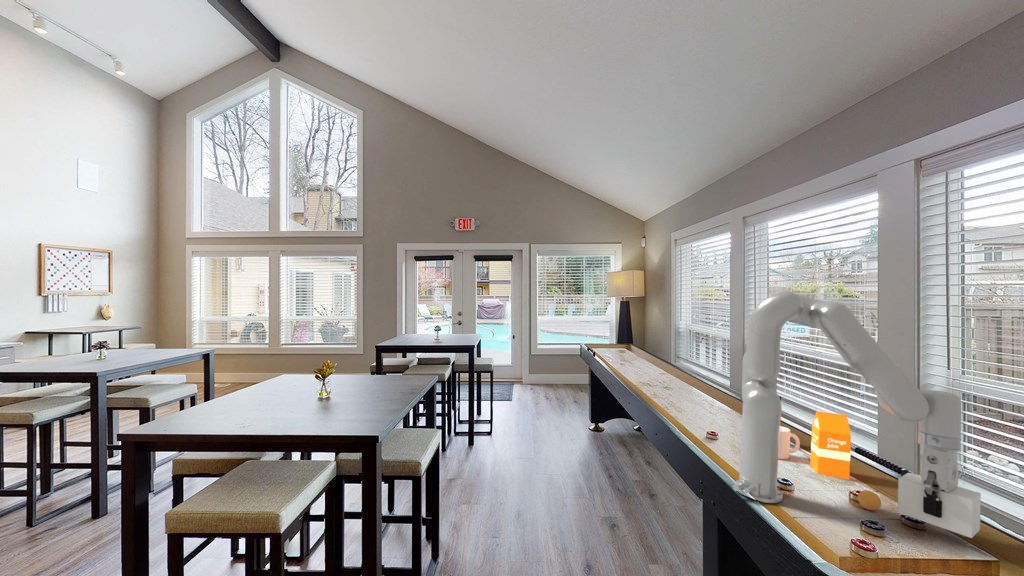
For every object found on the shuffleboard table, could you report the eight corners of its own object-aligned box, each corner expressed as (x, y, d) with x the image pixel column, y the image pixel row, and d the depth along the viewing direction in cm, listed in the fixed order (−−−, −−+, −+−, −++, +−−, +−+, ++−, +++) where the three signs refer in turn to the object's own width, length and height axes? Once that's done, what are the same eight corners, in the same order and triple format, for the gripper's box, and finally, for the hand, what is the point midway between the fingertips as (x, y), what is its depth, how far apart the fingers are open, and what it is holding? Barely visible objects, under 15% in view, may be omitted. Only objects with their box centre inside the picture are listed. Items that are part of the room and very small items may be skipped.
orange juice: (849, 479, 136) (852, 418, 137) (817, 474, 139) (820, 414, 140) (840, 470, 144) (842, 412, 144) (809, 465, 147) (812, 408, 147)
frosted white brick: (971, 538, 98) (972, 500, 98) (897, 512, 109) (898, 478, 109) (980, 529, 102) (980, 493, 102) (907, 505, 113) (908, 472, 113)
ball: (876, 515, 113) (877, 497, 113) (854, 507, 117) (855, 489, 117) (883, 511, 116) (884, 493, 116) (861, 503, 120) (862, 485, 120)
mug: (794, 454, 157) (795, 426, 157) (804, 462, 149) (806, 433, 149) (759, 450, 160) (760, 423, 160) (768, 458, 151) (769, 430, 151)
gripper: (949, 451, 98) (948, 527, 98) (969, 440, 107) (968, 509, 107) (907, 441, 104) (906, 512, 104) (929, 431, 113) (927, 496, 113)
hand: (937, 510), depth 105 cm, fingers closed on frosted white brick, 7 cm apart
